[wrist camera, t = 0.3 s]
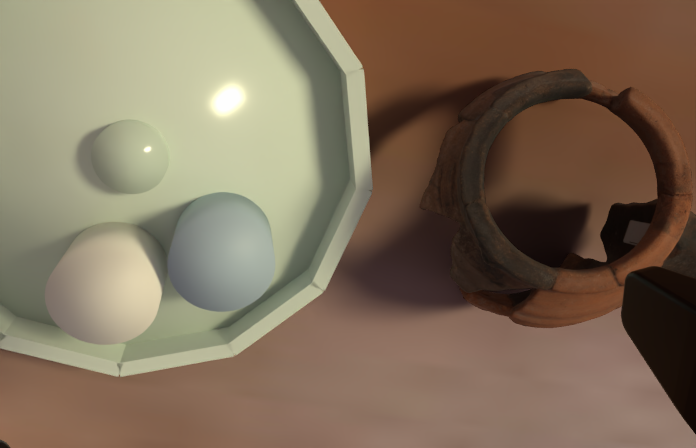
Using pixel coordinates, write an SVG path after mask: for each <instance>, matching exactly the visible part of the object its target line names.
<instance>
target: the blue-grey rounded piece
mask: <svg viewBox="0 0 696 448" xmlns="http://www.w3.org/2000/svg"><path fill="white" fill-rule="evenodd" d="M167 268H168V274H169V277H170V280H171V283H172V285H173V286H174V288H175V289H176V291H177V292H178V293H179V294H180V295H181V297H183V298H184V299H185V300H186V301H188V302H189V303H191V304H192V305H194V306H196V307H199V308H202V309H204V310H209V311H216V312H226V311H233V310H238V309H241V308H243V307H246V306H248V305H250V304H251V303H253V302H255V301H256V300H257V299H258V298H260V297H261V296H262V295H263V294H264V293H265V291H266V290H267V289H268V287H269V285H270V283H271V282H272V279H273V276H274V272H275V255H274V248H273V241H272V234H271V228H270V224H269V221H268V219H267V217H266V215H265V213H264V212H263V211H262V209H261V208H260V207H259V206H258V205H257V204H255V203H254V202H253V201H251V200H250V199H248V198H246V197H244V196H242V195H239V194H235V193H229V192H217V193H211V194H207V195H204V196H202V197H200V198H198V199H196V200H195V201H193V202H192V203H191V204H189V205H188V206H187V207H186V208H185V210H184V211H183V212H182V214H181V215H180V217H179V219H178V222H177V225H176V229H175V232H174V236H173V240H172V244H171V247H170V251H169V255H168V261H167Z"/></svg>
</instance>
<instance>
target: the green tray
mask: <svg viewBox="0 0 696 448" xmlns="http://www.w3.org/2000/svg"><path fill="white" fill-rule="evenodd" d="M362 67H363V66H362V65H361V63H360V62H359V60H358V59H357V57H356V56H355V54H354V53H353V51H352V50H351V48H350V47H349V45H348V44H347V42H346V41H345V39H344V38H343V36H342V35H341V33H340V32H339V30H338V29H337V27H336V26H335V24H334V23H333V21H332V20H331V18H330V17H329V15H328V14H327V12H326V11H325V9H324V8H323V6H322V5H321V3H320V2H319V0H0V348H1V349H5V350H9V351H13V352H17V353H22V354H26V355H30V356H34V357H38V358H42V359H47V360H51V361H55V362H59V363H63V364H67V365H72V366H76V367H80V368H84V369H88V370H92V371H97V372H101V373H105V374H109V375H113V376H117V377H118V376H119V373H120V376H121V377H122V376H128V375H133V374H139V373H145V372H150V371H156V370H161V369H167V368H172V367H178V366H183V365H189V364H195V363H200V362H206V361H211V360H217V359H222V358H228V357H233V356H234V354H235V355H237V354H239V353H240V352H242V351H243V350H244V349H246V348H247V347H248V346H250V345H251V344H253V343H254V342H255V341H257V340H258V339H260V338H261V337H262V336H264V335H265V334H266V333H268V332H269V331H271V330H272V329H273V328H275V327H276V326H278V325H279V324H280V323H282V322H283V321H284V320H286V319H287V318H289V317H290V316H291V315H293V314H294V313H296V312H297V311H298V310H300V309H301V308H302V307H304V306H305V305H307V304H308V303H309V302H311V301H312V300H314V299H315V298H316V297H318V296H319V295H320V294H322V293H323V290H325V289H326V287H327V285H328V283H329V281H330V279H331V277H332V275H333V273H334V271H335V269H336V267H337V265H338V262H339V260H340V258H341V256H342V254H343V252H344V250H345V248H346V246H347V244H348V242H349V240H350V238H351V235H352V233H353V231H354V229H355V227H356V225H357V223H358V221H359V219H360V217H361V215H362V213H363V211H364V208H365V206H366V204H367V202H368V200H369V198H370V196H371V194H372V191H371V190H373V186H372V173H371V159H370V146H369V132H368V119H367V106H366V92H365V79H364V69H362ZM217 192H229V193H235V194H239V195H242V196H244V197H246V198H248V199H250V200H251V201H253V202H254V203H255V204H257V205H258V206H259V207H260V208H261V209H262V211H263V212H264V213H265V215H266V217H267V219H268V221H269V224H270V228H271V234H272V241H273V248H274V255H275V272H274V276H273V279H272V282H271V283H270V285H269V287H268V289H267V290H266V291H265V293H264V294H263V295H262V296H261V297H260V298H258V299H257V300H256V301H255V302H253V303H251V304H250V305H248V306H246V307H243V308H241V309H238V310H233V311H226V312H216V311H209V310H204V309H202V308H199V307H196V306H194V305H192V304H191V303H189V302H188V301H186V300H185V299H184V298H183V297H181V295H180V294H179V293H178V292H177V291H176V289H175V288H174V286H173V285H172V283H171V280H170V277H169V274H168V272H167V277H166V281H165V285H164V289H163V293H162V297H161V301H160V304H159V308H158V312H157V315H156V317H155V319H154V321H153V322H152V324H151V325H150V326H149V327H148V328H147V329H146V330H145V331H144V332H143V333H142V334H140V335H139V336H137V337H135V338H133V339H131V340H129V341H126V342H123V343H119V344H112V345H98V344H92V343H87V342H84V341H81V340H78V339H76V338H74V337H72V336H70V335H69V334H67V333H66V332H64V331H63V330H62V329H61V328H60V327H59V326H58V325H57V324H56V323H55V322H54V321H53V319H52V318H51V316H50V314H49V312H48V310H47V307H46V303H45V288H46V283H47V281H48V279H49V277H50V275H51V273H52V272H53V270H54V269H55V267H56V266H57V264H58V263H59V261H60V260H61V258H62V257H63V255H64V254H65V252H66V251H67V250H68V248H69V247H70V245H71V244H72V242H73V241H74V239H75V238H76V237H77V236H78V235H79V234H80V233H81V232H83V231H84V230H86V229H87V228H89V227H91V226H93V225H96V224H99V223H104V222H125V223H129V224H133V225H136V226H138V227H140V228H142V229H144V230H146V231H147V232H149V233H150V234H151V235H152V236H154V237H155V238H156V239H157V241H158V242H159V243H160V244H161V246H162V247H163V249H164V252H165V254H166V257H167V261H168V255H169V251H170V247H171V244H172V240H173V236H174V232H175V229H176V225H177V222H178V219H179V217H180V215H181V214H182V212H183V211H184V210H185V208H186V207H187V206H188V205H189V204H191V203H192V202H193V201H195V200H196V199H198V198H200V197H202V196H204V195H207V194H211V193H217Z"/></svg>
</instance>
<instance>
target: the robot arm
mask: <svg viewBox="0 0 696 448" xmlns="http://www.w3.org/2000/svg"><path fill="white" fill-rule="evenodd" d="M621 318H622V323H623V326H624V328H625V330H626V332H627V334H628V335H629V337H630V338H631V340H632V341H633V343H634V344H635V346H636V347H637V349H638V350H639V352H640V354H641V355H642V357H643V358H644V360H645V361H646V363H647V364H648V366H649V367H650V369H651V370H652V372H653V374H654V375H655V377H656V378H657V380H658V381H659V383H660V384H661V386H662V387H663V389H664V390H665V392H666V394H667V395H668V397H669V398H670V400H671V401H672V403H673V404H674V406H675V407H676V409H677V410H678V411H679V413H680V414H681V416H682V417H683V419H684V420H685V421H686V422H687V424H688V425H689V426H690V428H691V429H692V430H693V432H694V433H695V434H696V278H693V277H690V276H687V275H684V274H681V273H677V272H674V271H671V270H668V269H665V268H662V267H658V266H650V267H646V268H642V269H639V270H635V271H632V272H630V273H628V275H627V276H626V278H625V284H624V293H623V301H622V310H621ZM0 448H10V447H9V445H8V444H7V443H6V442H4V441H2V440H0Z"/></svg>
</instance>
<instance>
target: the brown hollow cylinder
mask: <svg viewBox="0 0 696 448" xmlns="http://www.w3.org/2000/svg"><path fill="white" fill-rule="evenodd" d="M575 98H576V99H585V100H588V101H592V102H595V103H598V104H600V105H602V106H604V107H606V108H608V109H609V110H610V111H611V112H612V113H614V114H615V115H617V116H618V117H619V118H621V119H622V120H623V121H624V122H626V123H627V124H628V125H629V126H630V127H631V128H632V129H633V130H634V131H635V133H636V134H637V135H638V136H639V138H640V139H641V140H642V142H643V143H644V145H645V147H646V148H647V150H648V152H649V154H650V156H651V159H652V161H653V164H654V169H655V173H656V177H657V195H658V199H655V200H653V201H650V202H647V203H634V202H633V203H630V204H622V203H615V204H613V205H612V206H611V208H610V211H609V214H608V218H607V221H606V223H605V225H604V227H603V229H602V231H601V234H600V237H601V240H602V242H603V245H604V249H605V252H606V255H607V261H606V262H599V261H597V260H594V259H590V258H587V259H584V258H582V257H580V256H578V255H576V254H574V253H570V254H568V256H567V257H566V259H565V260H564V262H563V263H562V265H561V266H560V268H556V267H555V268H552V267H549V266H546V265H544V264H541V263H539V262H537V261H535V260H533V259H531V258H530V257H528V256H526V255H525V254H523V253H522V252H520V251H519V250H518V249H517V248H516V247H515V246H513V245H512V244H511V243H510V241H509V240H508V239H507V238H506V237H505V236H504V234H503V233H502V232H501V230H500V229H499V228H498V226H497V225H496V223H495V221H494V220H493V217H492V215H491V213H490V210H489V209H488V208H487V206H486V200H485V192H484V169H485V162H486V158H487V155H488V151H489V149H490V147H491V145H492V143H493V141H494V139H495V138H496V136H497V135H498V133H499V132H500V131H501V129H502V128H503V127H504V126H505V124H506V123H507V122H508V121H510V120H511V119H512V118H513V117H514V116H516V115H517V114H518V113H520V112H522V111H523V110H525V109H527V108H528V107H531V106H533V105H535V104H538V103H543V102H547V101H551V100H558V99H575ZM458 121H459V124H457V125H456V126H454V127H452V128H450V129H449V130H448V131H447V133H446V135H445V138H444V140H443V143H442V145H441V148H440V153H439V157H438V159H437V165H436V168H435V170H434V173H433V175H432V178H431V180H430V183H429V185H428V187H427V189H426V190H425V192H424V194H423V197H422V199H421V203H420V208H421V209H423V210H426V209H428V210H430V211H433V212H435V213H437V214H440V215H444V216H446V217H448V218H451V219H453V220H455V221H457V222H458V223H460V230H459V231H458V232H457V234H456V235H455V236H454V238H453V240H452V246H451V258H452V261H453V264H452V267H451V270H450V275H451V278H452V279H453V280H454V281H455V282H456V283H457V284H458V285H459V287H460V291H461V292H462V295H463V298H464V299H465V300H466V301H468V302H469V303H471V304H473V305H474V306H476V307H478V308H480V309H482V310H486V311H490V312H493V313H496V314H499V315H504V316H508V317H509V318H510V319H511V320H512V321H513V322H514V323H516V324H520V325H523V326H530V327H537V328H555V327H562V326H569V325H574V324H577V323H581V322H585V321H588V320H591V319H594V318H597V317H600V316H603V315H605V314H607V313H609V312H611V311H613V310H614V309H617V308H619V307H621V306H622V301H623V293H624V284H625V278H626V276H627V275H628V273H630V272H632V271H635V270H639V269H642V268H646V267H650V266H658V267H662V268H665V269H668V270H671V271H674V272H677V273H681V274H684V275H687V276H690V277H693V278H696V215H695V214H694V213H693V212H691V211H690V210H691V206H692V201H693V195H692V189H693V185H692V172H691V169H690V164H689V160H688V156H687V152H686V149H685V146H684V144H683V141H682V138H681V136H680V134H679V133H678V132H677V130H676V129H675V127H674V126H673V124H672V122H671V120H670V119H669V118H668V117H667V116H666V114H665V113H664V111H663V110H662V109H661V108H660V107H659V106H658V105H657V104H656V103H654V102H653V101H652V100H651V99H650V98H648V97H647V96H646V95H644V94H643V93H642V92H640V91H639V90H637V89H635V88H633V87H630V88H627V89H625V90H624V91H622V92H621V93H620V94H618V93H617V92H615V91H613V90H610V89H607V88H606V87H604V86H603V85H601V84H599V83H597V82H594V81H591V80H589V79H587V78H586V77H585V76H584V74H583V73H582V72H581V71H579V70H577V69H564V70H558V71H551V72H547V73H546V72H543V71H535V72H530V73H526V74H523V75H520V76H516V77H514V78H511V79H509V80H506V81H503V82H501V83H500V84H497V85H495V86H493V87H492V88H490V89H488V90H487V91H485V92H484V93H482V94H480V95H479V96H478V97H477V98H476V99H475V100H473V101H472V102H471V103H470V104H468V105H467V106H466V107H465V108H464V109H463V110H462V111H461V112H460V113H459V115H458ZM530 288H532V289H530ZM506 289H530V290H528V291H525V292H521V293H516V294H509V295H508V294H499V293H492V292H487V291H501V290H506ZM483 290H487V291H483Z"/></svg>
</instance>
